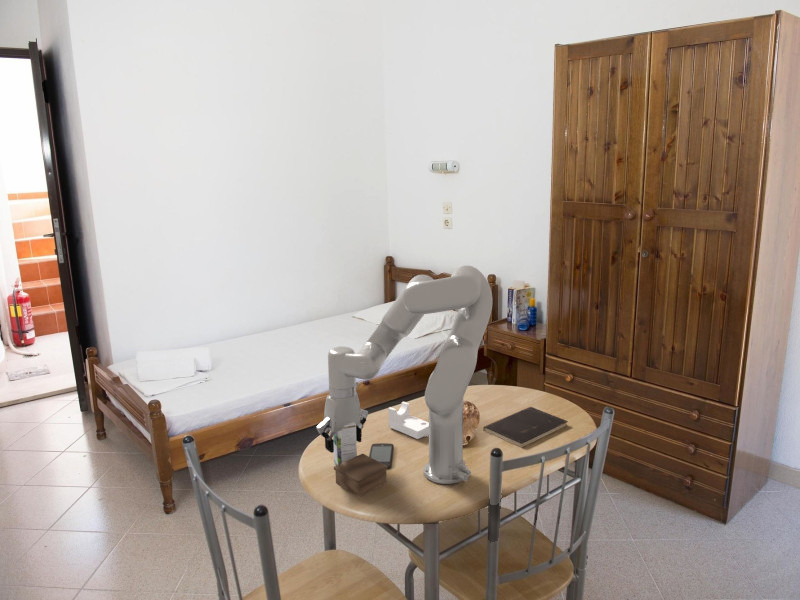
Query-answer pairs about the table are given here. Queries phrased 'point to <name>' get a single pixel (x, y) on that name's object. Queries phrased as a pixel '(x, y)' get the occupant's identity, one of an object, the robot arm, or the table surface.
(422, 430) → the bracket
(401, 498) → the table surface
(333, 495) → the table surface
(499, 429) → the hardcover book
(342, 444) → the syrup box
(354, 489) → the walnut box
